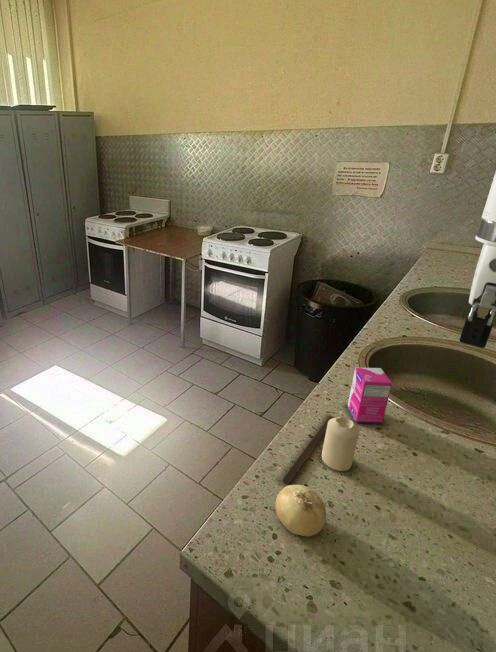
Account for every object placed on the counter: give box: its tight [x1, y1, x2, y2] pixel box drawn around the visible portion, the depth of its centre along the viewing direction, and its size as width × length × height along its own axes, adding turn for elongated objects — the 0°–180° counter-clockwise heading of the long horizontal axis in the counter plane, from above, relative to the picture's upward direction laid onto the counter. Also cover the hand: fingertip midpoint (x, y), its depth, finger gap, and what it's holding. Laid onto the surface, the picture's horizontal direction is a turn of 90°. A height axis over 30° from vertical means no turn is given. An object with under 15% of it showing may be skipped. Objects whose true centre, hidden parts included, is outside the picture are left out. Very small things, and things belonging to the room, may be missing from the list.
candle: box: [321, 415, 360, 472], centre depth 78 cm, size 6×6×10 cm
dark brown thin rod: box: [282, 415, 335, 486], centre depth 83 cm, size 1×24×1 cm, turn 136°
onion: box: [274, 484, 327, 537], centre depth 66 cm, size 8×8×7 cm
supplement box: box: [347, 366, 393, 425], centre depth 89 cm, size 6×6×12 cm
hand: (475, 333), depth 65 cm, fingers open, 9 cm apart
